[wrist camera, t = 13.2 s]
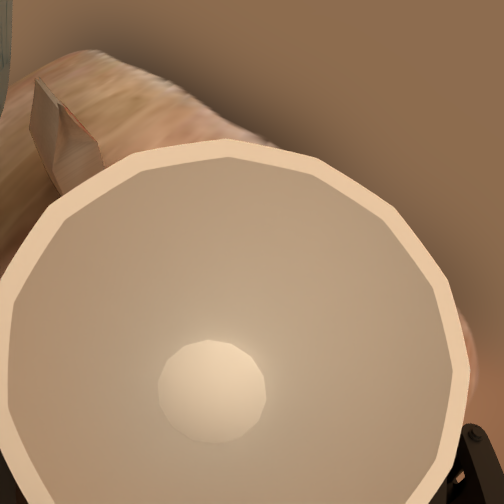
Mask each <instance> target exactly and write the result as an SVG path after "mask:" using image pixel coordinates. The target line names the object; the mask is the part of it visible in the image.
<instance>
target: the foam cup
mask: <svg viewBox="0 0 504 504" xmlns="http://www.w3.org/2000/svg"><path fill="white" fill-rule="evenodd" d="M469 378H470V366H469V361H468V356H467V351H466V346H465V342H464V337H463V333H462V329H461V325H460V321H459V317H458V313H457V310H456V306H455V302H454V299H453V296H452V292H451V289H450V286H449V283H448V280H447V278H446V277H445V276H444V274H443V272H442V271H441V269H440V268H439V267H438V265H437V264H436V262H435V261H434V259H433V258H432V257H431V255H430V254H429V252H428V251H427V250H426V248H425V247H424V246H423V244H422V243H421V242H420V240H419V239H418V237H417V236H416V235H415V234H414V232H413V231H412V230H411V228H410V227H409V226H408V225H407V223H406V222H405V221H404V219H403V218H402V217H401V216H400V214H398V212H397V211H396V209H395V208H394V207H393V206H391V205H390V204H388V203H387V202H385V201H384V200H382V199H381V198H379V197H378V196H376V195H375V194H374V193H372V192H371V191H369V190H368V189H366V188H365V187H363V186H361V185H360V184H358V183H357V182H355V181H354V180H352V179H350V178H349V177H347V176H346V175H344V174H343V173H341V172H339V171H338V170H336V169H334V168H333V167H331V166H329V165H328V164H326V163H324V162H323V161H321V160H319V159H318V158H314V157H310V156H306V155H302V154H298V153H294V152H290V151H285V150H281V149H276V148H272V147H267V146H262V145H258V144H253V143H248V142H243V141H237V140H232V139H220V140H212V141H204V142H196V143H189V144H183V145H176V146H170V147H164V148H158V149H152V150H147V151H142V152H137V153H133V154H131V155H129V156H127V157H125V158H124V159H122V160H120V161H118V162H117V163H115V164H113V165H111V166H110V167H108V168H106V169H105V170H103V171H101V172H99V173H98V174H96V175H95V176H93V177H91V178H90V179H88V180H86V181H85V182H83V183H82V184H80V185H79V186H77V187H75V188H74V189H72V190H71V191H69V192H68V193H66V194H65V195H63V196H62V197H60V198H59V199H57V200H56V201H55V202H53V203H52V204H50V205H49V206H48V207H47V209H46V210H45V211H44V213H43V214H42V216H41V217H40V218H39V220H38V221H37V223H36V224H35V225H34V227H33V228H32V230H31V231H30V233H29V234H28V236H27V237H26V239H25V240H24V242H23V243H22V245H21V246H20V248H19V249H18V251H17V253H16V254H15V256H14V257H13V259H12V261H11V262H10V264H9V266H8V267H7V269H6V271H5V273H4V274H3V276H2V278H1V280H0V450H1V452H2V454H3V456H4V458H5V461H6V463H7V465H8V467H9V469H10V471H11V473H12V475H13V477H14V479H15V480H16V482H17V484H18V486H19V488H20V490H21V491H22V493H23V495H24V497H25V498H26V500H27V502H28V503H29V504H428V503H429V502H430V500H431V499H432V497H433V496H434V495H435V493H436V492H437V490H438V489H439V487H440V486H441V484H442V483H443V481H444V479H445V478H446V476H447V475H448V473H449V471H450V470H451V468H452V466H453V463H454V459H455V455H456V451H457V447H458V443H459V438H460V434H461V429H462V424H463V419H464V413H465V407H466V401H467V394H468V386H469Z"/></svg>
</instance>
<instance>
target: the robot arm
mask: <svg viewBox="0 0 504 504" xmlns="http://www.w3.org/2000/svg"><path fill="white" fill-rule="evenodd" d="M12 1H13V0H0V117H1V114H2V111H3V108H4V104H5V100H6V95H7V89H8V81H9V72H10V59H11V38H12ZM463 471H464V474H465V478H464V479H463V480H462V481H461V482H459V483H458V482H457V480H456V478H457V477H458V476H459V474H461V473H462V472H463ZM0 504H29V503H28V502H27V500H26V498H25V497H24V495H23V493H22V491H21V490H20V488H19V486H18V484H17V482H16V480H15V479H14V477H13V475H12V473H11V471H10V469H9V467H8V465H7V463H6V461H5V458H4V456H3V454H2V452H1V450H0ZM428 504H504V474H503V471H502V469H501V466H500V464H499V461H498V459H497V456H496V454H495V452H494V449H493V447H492V445H491V443H490V440H489V438H488V436H487V434H486V433H485V431H484V430H483V429H482V428H481V427H480V426H478V425H475V424H465V425H464V426H463V427H462V429H461V434H460V438H459V443H458V447H457V451H456V455H455V459H454V463H453V466H452V468H451V470H450V471H449V473H448V475H447V476H446V478H445V479H444V481H443V483H442V484H441V486H440V487H439V489H438V490H437V492H436V493H435V495H434V496H433V497H432V499H431V500H430V502H429V503H428Z"/></svg>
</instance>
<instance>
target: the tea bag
mask: <svg viewBox="0 0 504 504" xmlns="http://www.w3.org/2000/svg"><path fill="white" fill-rule="evenodd" d="M29 130H30V133H31V136H32V138H33V141H34V143H35V146H36V148H37V150H38V153H39V155H40V157H41V160H42V162H43V164H44V166H45V169H46V171H47V173H48V175H49V177H50V179H51V181H52V182H53V184H54V186H55V187H56V189H57V191H58V192H59V194H60V196H61V197H62V196H63V195H65V194H66V193H68V192H69V191H71V190H72V189H74V188H75V187H77V186H79V185H80V184H82V183H83V182H85V181H86V180H88V179H90V178H91V177H93V176H95V175H96V174H98V173H99V172H101V171H103V170H105V169H104V165H103V162H102V158H101V154H100V150H99V146H98V143H97V141H96V140H95V139H94V138H93V137H92V136H91V135H90V134H89V132H88V131H87V130H86V129H85V128H84V127H83V126H82V124H81V123H80V122H79V121H78V120H77V119H76V118H75V116H74V115H73V114H72V113H71V112H70V111H69V109H68V108H67V107H66V106H65V105H64V104H63V103H62V102H60V101H59V100H58V99H57V98H56V97H55V95H54V94H53V93H52V92H51V91H50V89H49V88H48V87H47V86H46V84H45V83H44V82H43V81H42V80H41V78H40V77H39V80H37V79H35V90H34V99H33V105H32V111H31V117H30V125H29Z"/></svg>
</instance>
